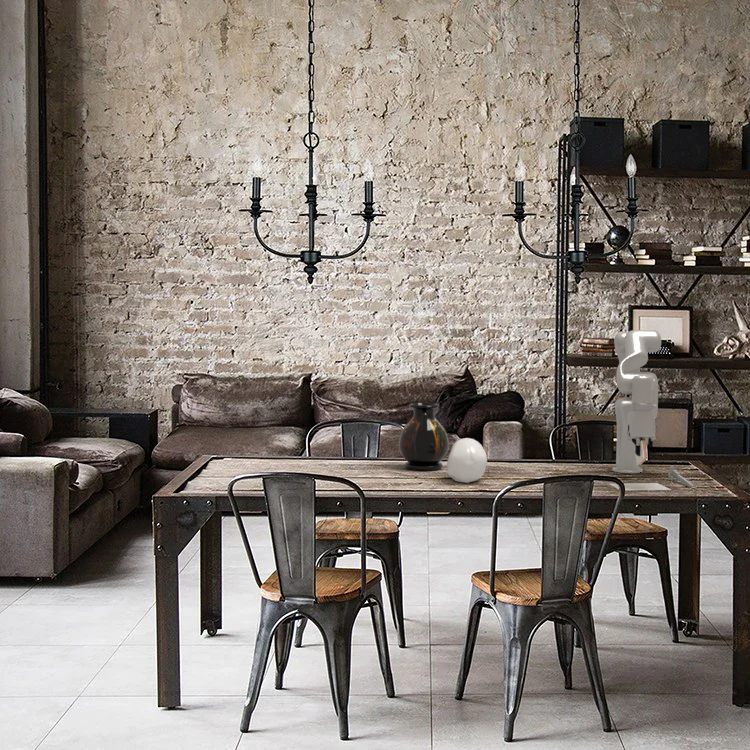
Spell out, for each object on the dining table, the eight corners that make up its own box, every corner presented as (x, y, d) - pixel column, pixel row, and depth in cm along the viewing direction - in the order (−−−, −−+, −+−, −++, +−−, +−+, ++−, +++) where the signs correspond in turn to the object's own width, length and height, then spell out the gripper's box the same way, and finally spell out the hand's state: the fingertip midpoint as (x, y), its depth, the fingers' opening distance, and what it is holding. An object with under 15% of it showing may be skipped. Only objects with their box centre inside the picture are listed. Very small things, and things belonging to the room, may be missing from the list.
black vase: (449, 472, 424) (450, 406, 422) (398, 472, 425) (399, 406, 423) (447, 464, 446) (447, 401, 444) (398, 464, 446) (399, 401, 444)
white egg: (480, 466, 420) (485, 427, 406) (485, 501, 404) (491, 462, 391) (442, 466, 420) (446, 427, 406) (446, 501, 404) (450, 462, 390)
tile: (636, 464, 387) (634, 447, 390) (640, 464, 387) (638, 447, 390) (643, 457, 380) (641, 440, 383) (647, 457, 380) (645, 440, 383)
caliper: (668, 480, 409) (668, 465, 409) (671, 480, 409) (671, 465, 409) (693, 489, 389) (693, 473, 389) (695, 489, 389) (696, 473, 389)
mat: (607, 485, 397) (607, 483, 396) (657, 484, 398) (657, 483, 398) (620, 492, 382) (620, 490, 382) (671, 491, 383) (671, 489, 383)
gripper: (657, 406, 389) (656, 454, 390) (618, 406, 387) (617, 454, 388) (665, 408, 381) (664, 456, 382) (625, 408, 380) (624, 457, 381)
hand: (640, 455), depth 385 cm, fingers closed on tile, 1 cm apart
